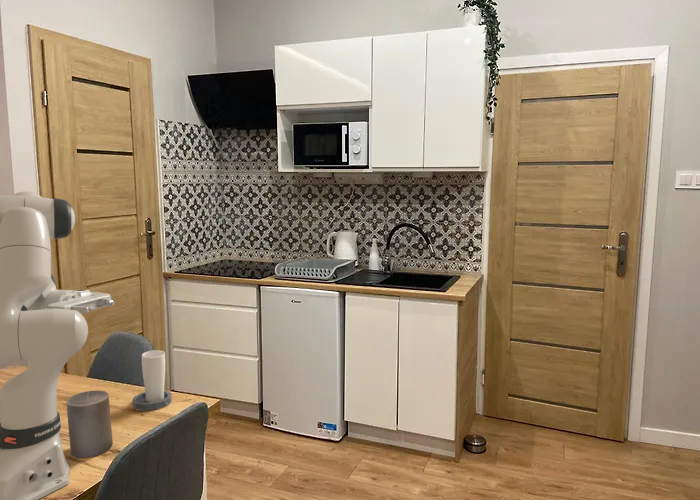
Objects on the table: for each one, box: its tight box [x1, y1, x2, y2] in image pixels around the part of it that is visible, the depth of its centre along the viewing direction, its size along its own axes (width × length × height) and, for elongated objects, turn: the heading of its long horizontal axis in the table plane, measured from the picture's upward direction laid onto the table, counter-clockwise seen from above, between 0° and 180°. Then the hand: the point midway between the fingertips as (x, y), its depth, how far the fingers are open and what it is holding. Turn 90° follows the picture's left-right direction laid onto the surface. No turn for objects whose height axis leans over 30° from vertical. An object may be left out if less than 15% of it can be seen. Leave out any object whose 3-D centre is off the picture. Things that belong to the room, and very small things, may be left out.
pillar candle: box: [65, 390, 114, 459], centre depth 135 cm, size 10×10×15 cm
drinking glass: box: [141, 349, 166, 403], centre depth 163 cm, size 7×7×15 cm
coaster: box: [131, 390, 172, 412], centre depth 164 cm, size 11×11×2 cm
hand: (101, 306), depth 163 cm, fingers open, 8 cm apart
